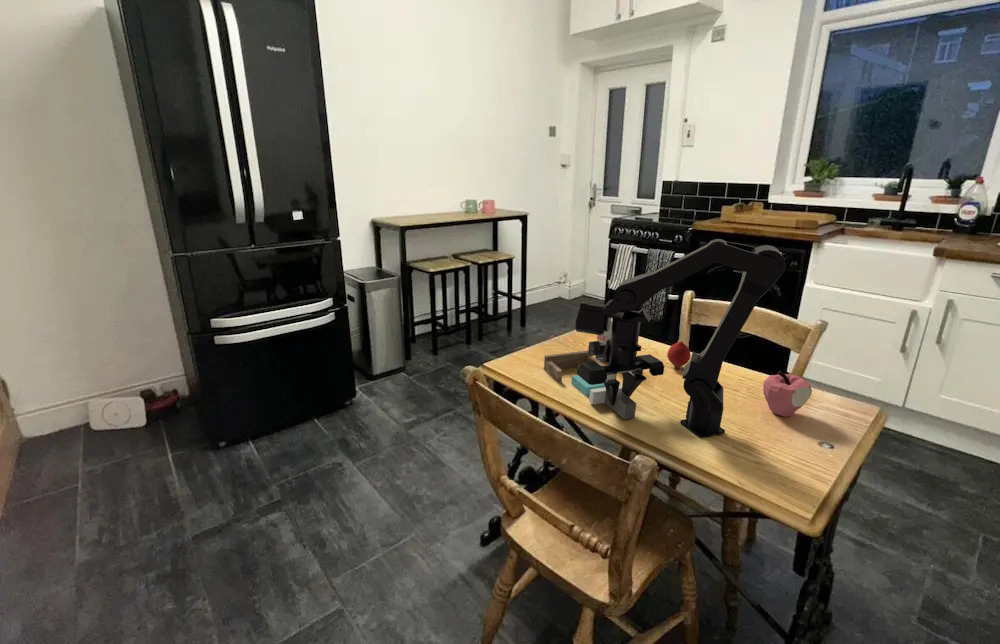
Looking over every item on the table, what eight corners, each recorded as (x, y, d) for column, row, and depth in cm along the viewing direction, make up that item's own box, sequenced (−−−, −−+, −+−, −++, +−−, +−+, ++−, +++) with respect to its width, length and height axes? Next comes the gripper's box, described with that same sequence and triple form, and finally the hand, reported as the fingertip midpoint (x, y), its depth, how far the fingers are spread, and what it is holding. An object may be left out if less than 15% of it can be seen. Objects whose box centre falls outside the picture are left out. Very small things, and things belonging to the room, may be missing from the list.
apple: (776, 424, 103) (786, 382, 99) (749, 405, 111) (757, 365, 107) (814, 420, 104) (825, 379, 101) (785, 402, 112) (794, 363, 109)
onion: (685, 363, 133) (689, 336, 131) (690, 372, 128) (695, 344, 125) (663, 362, 134) (667, 335, 131) (668, 371, 128) (672, 343, 126)
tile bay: (603, 375, 124) (605, 361, 123) (557, 382, 120) (558, 367, 119) (588, 363, 132) (589, 350, 130) (543, 369, 128) (544, 355, 126)
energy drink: (591, 356, 137) (595, 316, 133) (608, 354, 139) (612, 314, 135) (601, 363, 132) (604, 322, 128) (618, 361, 134) (622, 320, 130)
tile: (610, 392, 116) (611, 383, 115) (585, 397, 114) (586, 387, 113) (595, 381, 122) (596, 372, 122) (571, 385, 120) (571, 375, 119)
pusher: (647, 415, 104) (648, 401, 103) (611, 421, 101) (612, 407, 100) (622, 396, 113) (624, 382, 112) (589, 401, 110) (590, 387, 109)
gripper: (639, 323, 112) (632, 383, 117) (568, 330, 106) (563, 393, 111) (670, 339, 102) (660, 404, 107) (593, 348, 96) (587, 416, 101)
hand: (617, 403), depth 107 cm, fingers closed on pusher, 3 cm apart
